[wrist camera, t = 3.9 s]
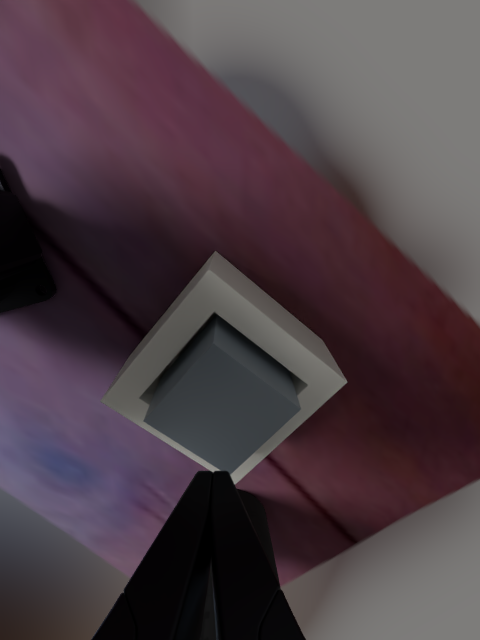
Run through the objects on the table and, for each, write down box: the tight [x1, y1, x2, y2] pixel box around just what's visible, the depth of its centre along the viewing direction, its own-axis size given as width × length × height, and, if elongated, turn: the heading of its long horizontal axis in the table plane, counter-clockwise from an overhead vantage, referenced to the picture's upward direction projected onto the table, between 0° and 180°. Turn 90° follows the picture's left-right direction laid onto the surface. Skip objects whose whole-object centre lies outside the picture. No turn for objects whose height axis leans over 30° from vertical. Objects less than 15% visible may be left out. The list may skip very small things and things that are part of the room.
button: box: [143, 314, 301, 475], centre depth 13 cm, size 4×4×3 cm
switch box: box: [100, 251, 347, 484], centre depth 15 cm, size 7×7×4 cm
